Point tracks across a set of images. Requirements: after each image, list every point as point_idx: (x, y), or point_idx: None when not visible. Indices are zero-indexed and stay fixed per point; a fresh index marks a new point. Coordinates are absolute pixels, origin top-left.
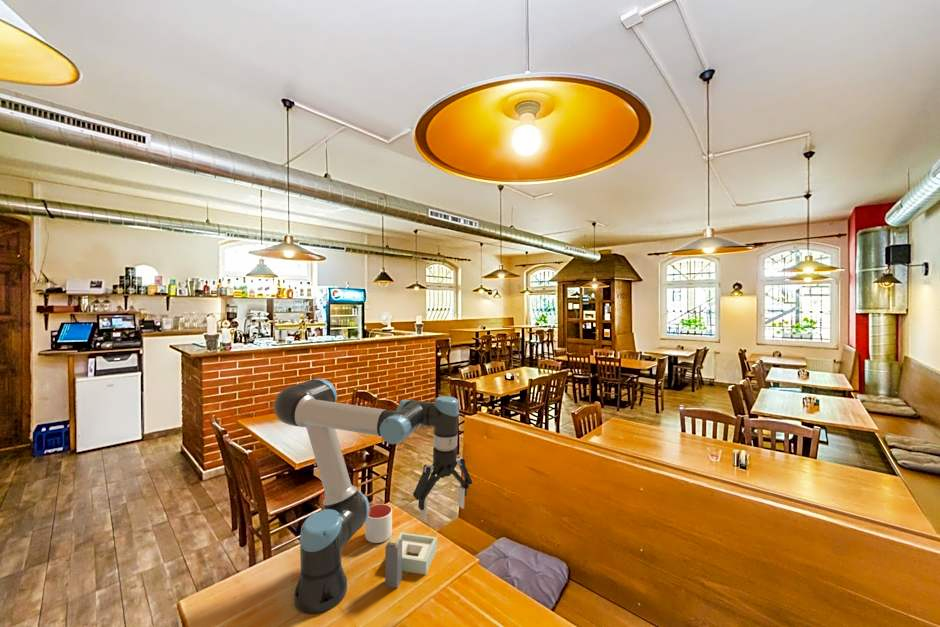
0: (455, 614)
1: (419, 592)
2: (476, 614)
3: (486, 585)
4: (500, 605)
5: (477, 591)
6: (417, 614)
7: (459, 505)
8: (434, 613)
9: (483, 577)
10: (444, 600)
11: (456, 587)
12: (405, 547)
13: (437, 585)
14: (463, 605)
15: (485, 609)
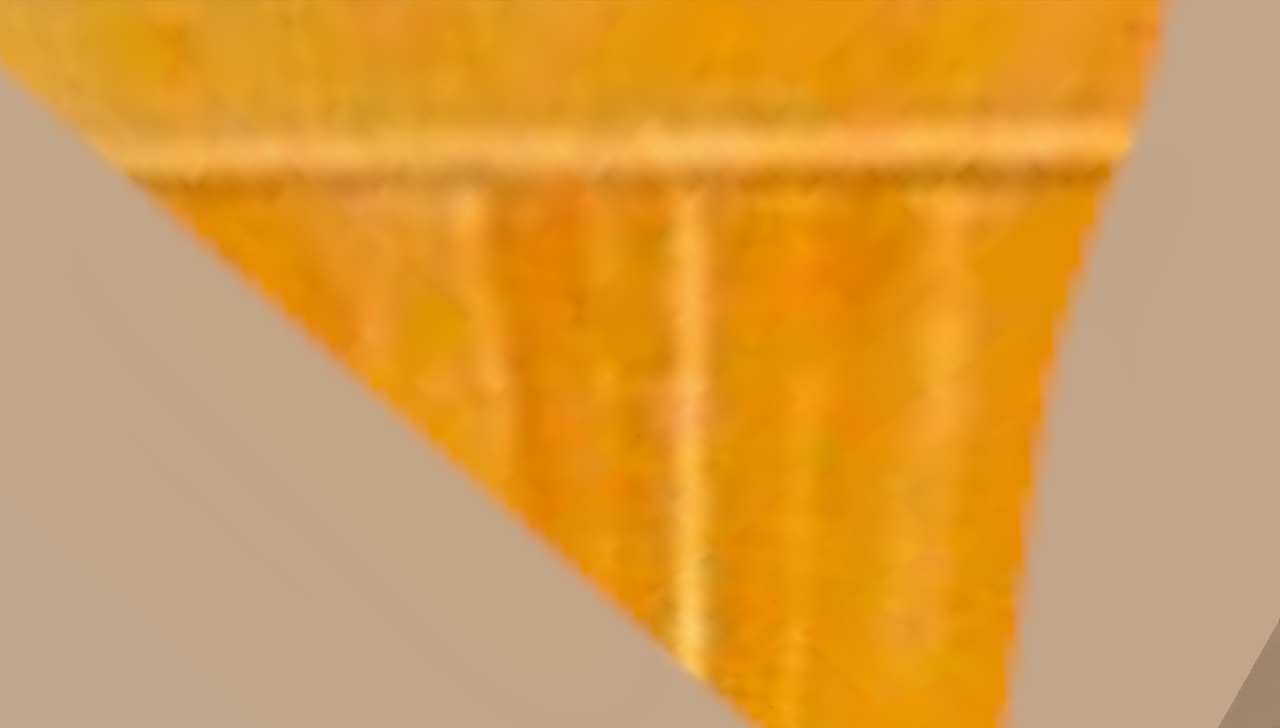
0: (517, 461)
1: (428, 42)
2: (640, 571)
3: (948, 445)
4: (840, 644)
5: (834, 433)
6: (267, 237)
7: (1274, 676)
8: (390, 334)
9: (1017, 364)
10: (547, 295)
11: (739, 265)
12: None
13: (624, 107)
14: (630, 447)
15: (727, 590)
